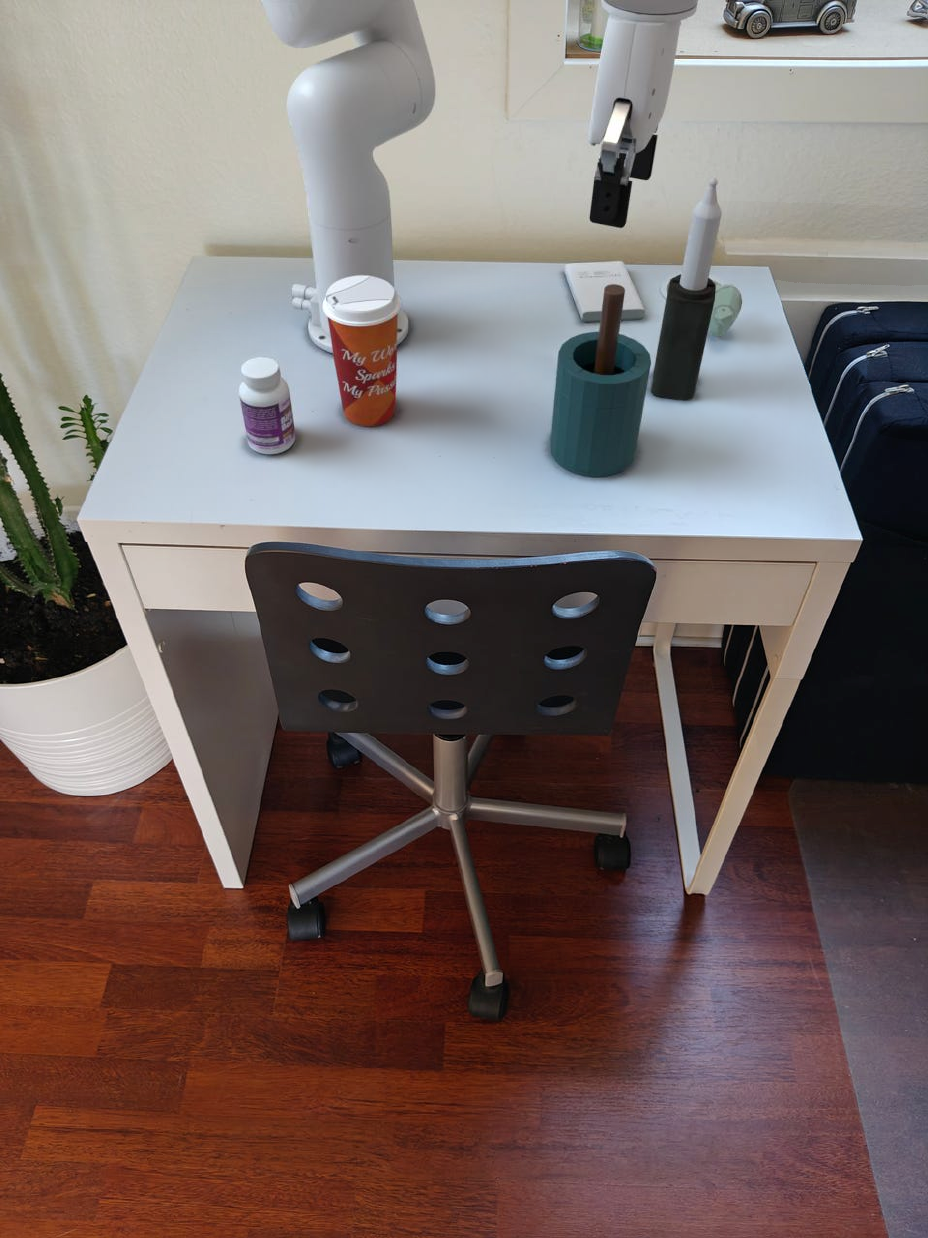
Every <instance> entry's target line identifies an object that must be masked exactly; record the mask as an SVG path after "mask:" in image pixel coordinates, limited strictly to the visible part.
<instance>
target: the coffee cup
mask: <svg viewBox="0 0 928 1238" xmlns="http://www.w3.org/2000/svg"><path fill="white" fill-rule="evenodd" d="M400 296H401V295H399V293H398V290H396V288H395V286H394V287H392V285H391V284H390V283H388V282H387V281H385V280H383V279H380V278H377V277H373V276H365V275H361V276H351V277H347V278H343V279H341V280H338V281H337V282H335V283H333V284H332V285H331V286H330V287H329V289H328V290H327V293H326V298H325V299H324V302H323V310H324V313H325V314H326V315H327V317H328V323H329V329H330V335H331V342H332V349H333V353H332V356H333V363H334V368H335V373H336V378H337V383H338V388H339V395H340V400H341V405H342V406H341V407H342V410H343V414H344V416H345V418H346V419H347V420H348V421H349V422H350V423H352V424H354V425H357V426H361V427H375V426H376V427H377V426H380V425H384V424H385V423H387V422H389V421H390V420H391V419H392V418H393V417H394V415H395V413H396V401H397V371H398V370H397V369H398V367H397V365H398V345H397V320H398V312H399V310H400V308H401V307H402V302H401V301H402V298H401V297H400Z"/></svg>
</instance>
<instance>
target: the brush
mask: <svg viewBox="0 0 928 1238" xmlns="http://www.w3.org/2000/svg"><path fill="white" fill-rule="evenodd" d="M624 295H625V289H624V287H622V286H620V285H617V284H611V285H607V286H606V287H605V288H604V296H603V304H602V312H601V320H600V322H599V329H598V332H599V336H598V344H597V352H596V360H595V368H594V374H599V375H613V372H614V365H615V358H616V351H617V344H618V337H619V334H620V329H621V322H622V320H621V316H622V309H623V302H624Z"/></svg>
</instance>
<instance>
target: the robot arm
mask: <svg viewBox="0 0 928 1238" xmlns="http://www.w3.org/2000/svg"><path fill="white" fill-rule="evenodd" d="M260 2H261V4H262V7H263V10H264V12H265V15H266V18H267V19H268V23H269V24H270V26H271V28H272V30H273V32H274V33H275V35H276V36H277V38H278V39H279V40H280V41H281V42H282V43H283V44H285V45H286V46H288V47H291V48H293V49H307V48H313V47H316V46H320V45H323V44H327V43H329V42H332V41H335V40H337V39H340V38H343V37H346V36H348V35H352V36H353V38H354V41H355V43H356V47H355V48H353V49H348V50H346V51H342V52H340V53H338V54H335V55H332V56H330V57H327V58H325V59H322V60H320V61H318V62H316V63H314V64H312V65H310V66H309V67H307V68H306V69H304V70H303V71H302V72H300V73H299V74H298V75H297V77H296V78H295V80H294V81H293V82H292V83H291V85H290V87H289V90H288V93H287V97H286V114H287V119H288V124H289V127H290V131H291V134H292V137H293V141H294V144H295V147H296V150H297V154H298V157H299V162H300V166H301V173H302V178H303V183H304V190H305V199H306V206H307V207H306V208H307V215H308V224H309V233H310V242H311V250H312V258H313V259H312V260H313V268H314V269H313V270H314V276H315V279H314V280H315V286H316V287H311V286H309V285H305V284H299V283H294V284H293V285H292V287H291V298H292V303H291V306H292V308H293V309H295V310H299V311H306V312H308V313H309V314H311V315H310V317H309V319H308V324H307V327H308V334H309V338H310V339H311V341H312V342H313V343H314V344H315V345H316V346H317V347H319V348H320V349H322V350H324V351H325V352H328V353H330V354H333V349H332V342H331V335H330V329H329V323H328V317H327V315H326V314H325V313H324V310H323V302H324V299H325V298H326V293H327V290H328V289H329V287H330V286H331V285H332V284H333V283H335V282H337V281H338V280H341V279H343V278H347V277H351V276H361V275H365V276H373V277H377V278H380V279H383V280H385V281H387V282H388V283H390V284H391V285H392V287H394V288H395V271H394V270H395V268H394V249H393V247H394V246H393V228H392V227H393V226H392V224H393V223H392V207H391V195H390V189H389V184H388V181H387V178H386V177H385V175H384V173H383V172H382V170H381V169H380V167H379V166H378V165H377V162H376V161H375V159H374V150H375V149H376V148H377V147H380V146H381V145H383V144H385V143H387V142H388V141H391V140H393V139H395V138H397V137H400V136H402V135H404V134H406V133H408V132H409V131H412V130H414V129H416V128H417V127H419V126H420V125H422V124H423V123H424V122H425V121H426V120H427V119H428V118H429V116H430V115H431V113H432V111H433V109H434V106H435V101H436V92H437V91H436V79H435V74H434V68H433V65H432V60H431V56H430V53H429V50H428V49H429V48H428V46H427V43H426V39H425V36H424V31H423V28H422V25H421V21H420V18H419V15H418V11H417V7H416V4H415V1H414V0H260ZM600 5H601V7H602V9H603V10H605V11H606V12H607V13H609V14H608V18H607V22H606V27H605V30H604V35H603V39H602V45H601V51H600V55H599V61H598V67H597V74H596V81H595V88H594V93H593V99H592V106H591V113H590V114H591V115H590V119H589V127H588V133H587V141H588V143H589V144H590V146H593V147H595V146H596V145H600V144H601V148H600V153H599V156H598V160H597V165H596V169H595V174H594V177H593V186H592V194H591V202H590V209H589V210H590V211H589V221H590V222H591V223H592V224H598V225H602V226H607V227H612V228H618V229H622V228H624V227H625V226H626V225H627V221H628V214H629V207H630V201H631V194H632V188H633V180H630V179H635V180H641V181H649V180H650V178H651V177H652V173H653V167H654V161H655V155H656V149H657V142H658V137H659V135H658V134H657V132H658V129H659V124H660V122H661V120H662V118H663V116H664V114H665V111H666V107H667V103H668V98H669V94H670V89H671V83H672V78H673V72H674V67H675V61H676V55H677V48H678V42H679V36H680V30H681V29H680V28H681V25H682V22H681V21H683V20H687V19H688V18H690V17H693V16H694V15H695V14H696V12H697V9H698V0H600ZM408 333H409V318H408V315H407V313H406V312H405V311H404V309H402V308H401V307H400V310H399V312H398V320H397V346H398V345H399V344H401V343H402V342H403V341H404V340H405V339H406V337H407V335H408Z"/></svg>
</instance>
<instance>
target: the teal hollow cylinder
mask: <svg viewBox="0 0 928 1238" xmlns="http://www.w3.org/2000/svg"><path fill="white" fill-rule="evenodd" d="M598 336H599V331H590V332H583V333H579V334H577V335H574V336H572V337H570V338H569V339H567V340H566V341H565V342H563V343H562V344H561V346H560V348H559V350H558V352H557V353H558V354H557V364H556V374H555V385H554V394H553V395H554V396H553V398H554V399H553V407H552V417H551V430H550V438H549V439H550V440H549V443H550V444H549V448H550V449H549V451H550V454H551V456H552V458H553V460H554V462H556V463H557V465H559V466H560V467H561V468H563V469H565V470H566V471H569V472H571V473H573V474H576V475H579V476H584V477H590V478H599V477H600V478H603V477H610V476H613V475H616V474H619V473H620V472H623V471H625V470H626V469H627V468H628V467H629V466H630V465H631V464H632V463H633V461H634V458H635V455H636V452H637V451H636V450H637V447H638V441H639V435H640V431H641V430H640V428H641V423H642V419H643V413H644V412H643V411H644V407H645V400H646V395H647V389H648V383H649V378H650V371H651V367H652V366H651V365H652V359H651V354H650V352H649V351H648V349H647V348H646V346H645V345H643V344H642V343H641V342H639V341H638V340H636V339H634V338H632V337H629V336H627V335H625V334H621V333H619V337H618V344H617V351H616V358H615V365H614V372H613V375H599V374H594V368H595V360H596V352H597V344H598Z"/></svg>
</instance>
